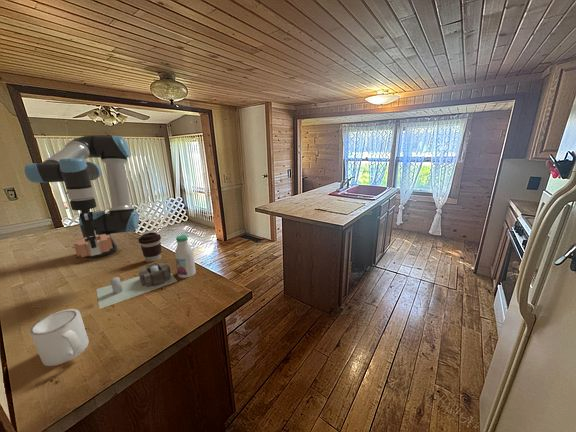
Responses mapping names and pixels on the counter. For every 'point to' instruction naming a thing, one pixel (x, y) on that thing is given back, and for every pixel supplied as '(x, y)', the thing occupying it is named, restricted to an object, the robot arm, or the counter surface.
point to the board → (126, 289)
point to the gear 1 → (83, 245)
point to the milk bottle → (184, 258)
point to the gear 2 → (155, 275)
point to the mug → (60, 337)
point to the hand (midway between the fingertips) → (95, 249)
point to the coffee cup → (151, 246)
